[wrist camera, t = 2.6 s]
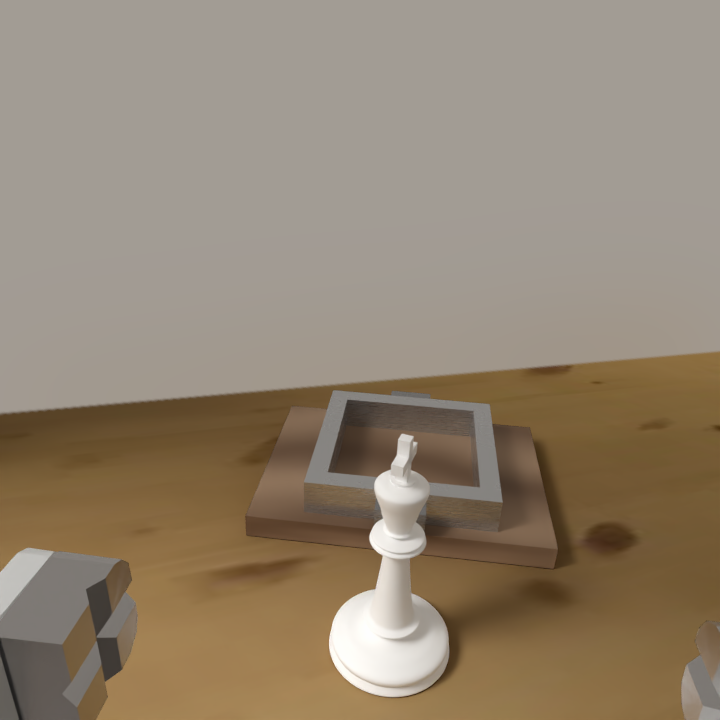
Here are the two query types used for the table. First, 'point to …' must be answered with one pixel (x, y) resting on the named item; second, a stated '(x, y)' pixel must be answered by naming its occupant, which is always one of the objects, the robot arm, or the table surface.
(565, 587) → the table surface
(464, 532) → the socket board
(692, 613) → the table surface
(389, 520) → the chess piece
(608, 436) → the table surface
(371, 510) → the square frame tray
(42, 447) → the table surface
